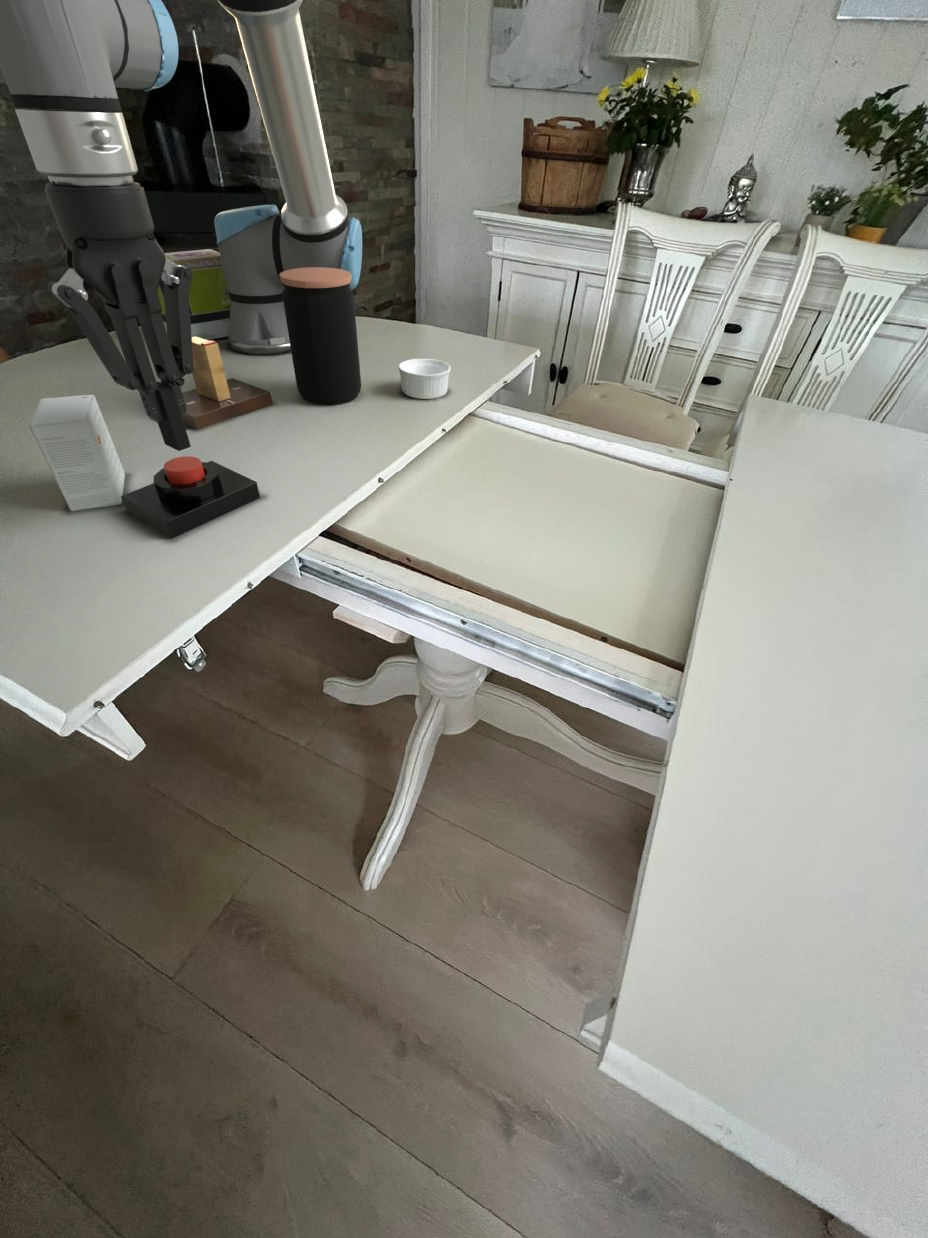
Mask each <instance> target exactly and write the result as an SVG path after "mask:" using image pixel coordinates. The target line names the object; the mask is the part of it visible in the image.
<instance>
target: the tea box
mask: <svg viewBox="0 0 928 1238" xmlns="http://www.w3.org/2000/svg"><path fill="white" fill-rule="evenodd" d="M164 253H165V257H166V258H167V259H168V260H170V261H172V262H174V263H175V264H177V265H180V266H183V267H187V268H190V269H191V271H192V272H193V280H192V284H191V288H190V292H189V306H190V321H191V336H192V337H195V336H196V337H199V338H202V339H205V340H208V341H211V340H216V339H221V338H229V337H228V336H229V323H230V310H231V302H230V297H229V292H228V288H227V283H226V279H225V274H224V270H223V265H222V261H221V256H220V252H219V251H218V250H217V251H216V250H213V249H212V248H205V249H195V250H185V251H184V250H183V251H175V252H173V251H172V252H164ZM157 293H158V296H159V299H160V303H161V306H162V311H161V315H162V319H163V322H164V325H165V329H166V332H167V326H166V314H165V303H164V282H163V280H162V279H161V281H160V284H159V288H158V292H157Z"/></svg>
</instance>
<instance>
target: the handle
mask: <svg viewBox="0 0 928 1238" xmlns="http://www.w3.org/2000/svg"><path fill="white" fill-rule="evenodd" d="M192 351H193V366H194V370H193V372H192V373H191V374H192V378H193V381H194V384H195V388H196V389H197V392H198V394H201V395H203V396H206V397H208V398H211V399H213V400H216V401H218V402H219V401H223V400H226V399H229V398H231V397H230V393H229V389H228V385H227V376H226V373H225V368H224V364H223V359H222V354H221V351H220V348H219V343H217V342H216V341H215V340H213V339H210V340H205V339H202V338H199V337H196V336H195V337H192Z"/></svg>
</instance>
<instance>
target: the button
mask: <svg viewBox="0 0 928 1238" xmlns="http://www.w3.org/2000/svg"><path fill="white" fill-rule="evenodd" d="M202 462H203V461H202V460H201V459H200V458H199V457H196V456H190V455H189V456H188V455H187V456H185V455H183V456H178V457H174V458H172V459H171V458H170V459H169V460H168V461H166V462H165V463H163V468H164V470H165V473H166V476H167V479H168V481H169V482H170V483H171V484H180V485H182V484H189V483H194V482H196V481H198V480H201V479H203V478H204V477H205V473H204V469H203V466H202Z"/></svg>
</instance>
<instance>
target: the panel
mask: <svg viewBox="0 0 928 1238" xmlns="http://www.w3.org/2000/svg"><path fill="white" fill-rule="evenodd" d="M226 380H227V385H228V389H229V393H230V397H231V398H229V399H226V400H223V401H219V402H218V401H216V400H213V399H211V398H208V397H206V396H203V395H201V394H198V392H197V389H196V387H195V388H193V389H189V390H186V391H184V392H183V391H182V394H183V398H184V401H185V404H186V413H184V414H181V416H182V419H183V422H184V425H185V426H187V427H189V428H191V429H194V430H197V431H199V430H201V429H204V428H207V427H210V426H213V425H215V424H218V423H222V422H224V421H227V420H230V419H233V418H236V417H239V416H242V415H246V414H248V413H252V412H254V411H256V410H257V411H258V410H260V409H263V408H267V407H269V406H272V405H274V404H273V397H272V393H271V391H269V390H266V389H264V388H260V387H258V386H256V385H252V384H249V383H247V382H244V381H241V380H239V379H236V378H234V377H231V378H228V379H227V378H226Z"/></svg>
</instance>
